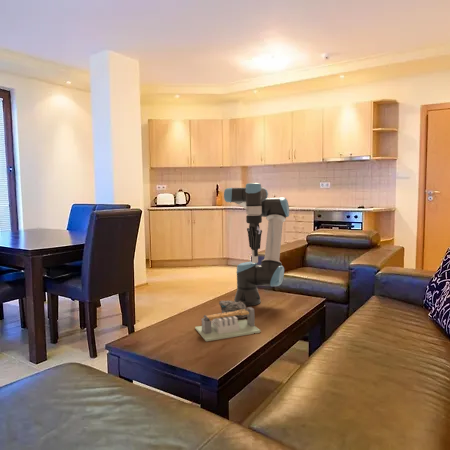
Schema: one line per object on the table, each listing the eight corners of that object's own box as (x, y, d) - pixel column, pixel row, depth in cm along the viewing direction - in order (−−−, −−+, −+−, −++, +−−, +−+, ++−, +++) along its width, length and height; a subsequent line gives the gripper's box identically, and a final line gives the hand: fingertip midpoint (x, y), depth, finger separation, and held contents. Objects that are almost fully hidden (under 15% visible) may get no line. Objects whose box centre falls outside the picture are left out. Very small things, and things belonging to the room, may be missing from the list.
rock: (215, 316, 199) (217, 298, 197) (223, 311, 206) (225, 293, 204) (242, 326, 192) (244, 307, 190) (249, 320, 199) (252, 302, 197)
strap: (206, 320, 173) (206, 318, 172) (203, 317, 177) (203, 315, 177) (249, 314, 180) (248, 311, 180) (244, 311, 184) (244, 308, 184)
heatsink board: (195, 328, 183) (194, 310, 182) (245, 321, 192) (245, 303, 191) (206, 341, 167) (205, 321, 166) (260, 332, 176) (260, 313, 175)
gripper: (241, 214, 194) (242, 260, 196) (252, 216, 181) (253, 265, 184) (255, 213, 196) (256, 259, 198) (266, 215, 184) (267, 264, 186)
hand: (255, 262), depth 191 cm, fingers closed
